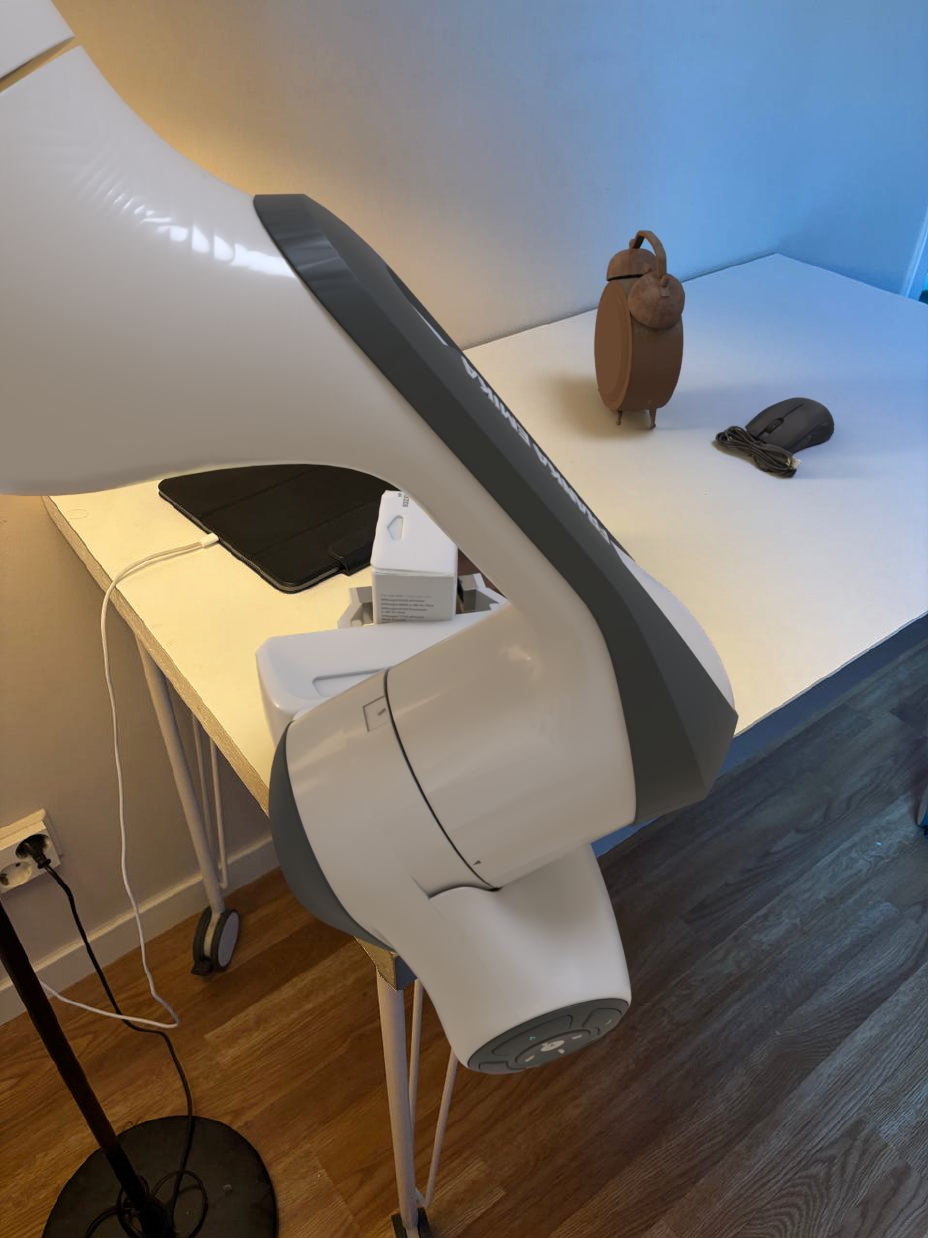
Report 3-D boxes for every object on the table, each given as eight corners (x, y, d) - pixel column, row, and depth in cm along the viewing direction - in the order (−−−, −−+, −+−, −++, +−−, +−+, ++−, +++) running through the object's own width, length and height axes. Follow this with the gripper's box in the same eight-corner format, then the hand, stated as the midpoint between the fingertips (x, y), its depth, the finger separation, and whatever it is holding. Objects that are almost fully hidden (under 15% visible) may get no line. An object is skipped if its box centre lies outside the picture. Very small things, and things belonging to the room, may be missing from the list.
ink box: (451, 722, 60) (457, 574, 53) (373, 718, 60) (367, 571, 53) (455, 632, 67) (461, 490, 59) (385, 629, 67) (381, 486, 59)
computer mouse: (860, 439, 108) (870, 408, 105) (786, 483, 100) (795, 451, 98) (784, 405, 113) (792, 375, 111) (709, 444, 106) (715, 413, 103)
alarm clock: (677, 440, 106) (713, 260, 93) (614, 443, 105) (642, 262, 92) (639, 380, 117) (667, 211, 104) (582, 382, 116) (603, 212, 103)
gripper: (659, 682, 50) (576, 530, 60) (261, 739, 46) (245, 566, 56) (640, 762, 54) (565, 607, 64) (273, 821, 50) (256, 646, 60)
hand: (413, 588), depth 60 cm, fingers closed on ink box, 5 cm apart
